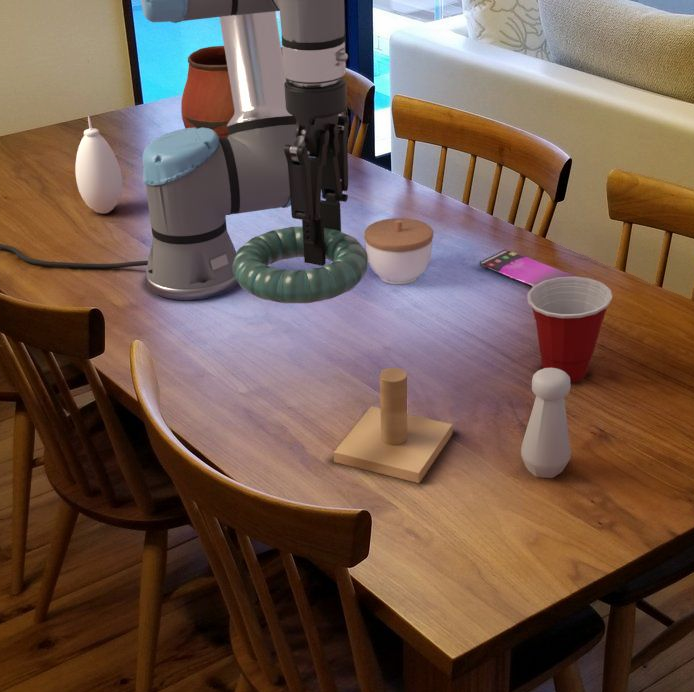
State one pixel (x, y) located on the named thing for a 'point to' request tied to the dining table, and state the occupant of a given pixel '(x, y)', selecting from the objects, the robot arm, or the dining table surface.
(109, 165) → the white air blower bulb
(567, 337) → the plastic cup
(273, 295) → the ring
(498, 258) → the smartphone
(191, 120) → the terracotta vase
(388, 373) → the peg stand
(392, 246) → the trinket box
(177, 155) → the robot arm
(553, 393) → the salt shaker
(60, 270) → the dining table surface
